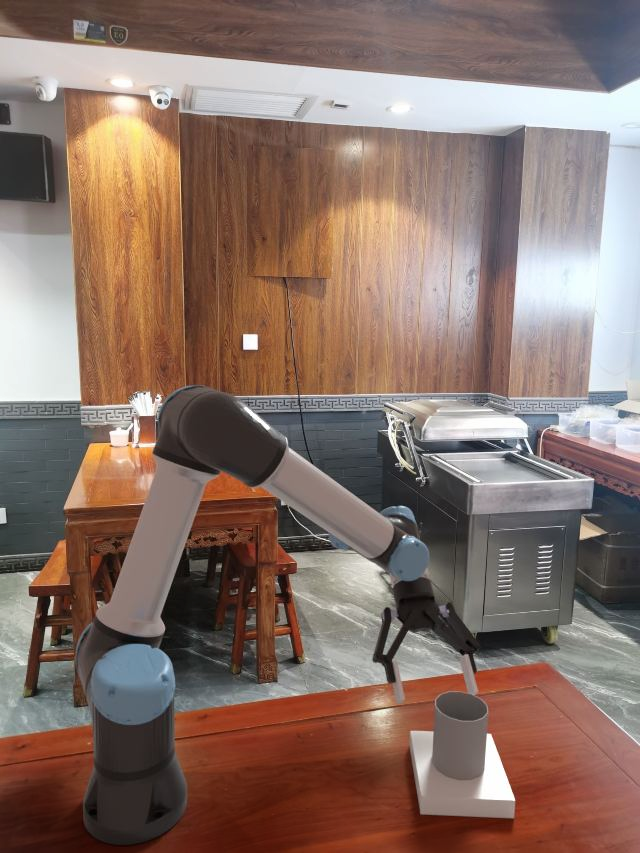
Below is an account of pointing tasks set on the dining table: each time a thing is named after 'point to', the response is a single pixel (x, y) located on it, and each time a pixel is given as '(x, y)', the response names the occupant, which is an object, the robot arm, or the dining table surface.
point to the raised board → (460, 784)
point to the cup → (460, 735)
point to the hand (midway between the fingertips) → (437, 698)
